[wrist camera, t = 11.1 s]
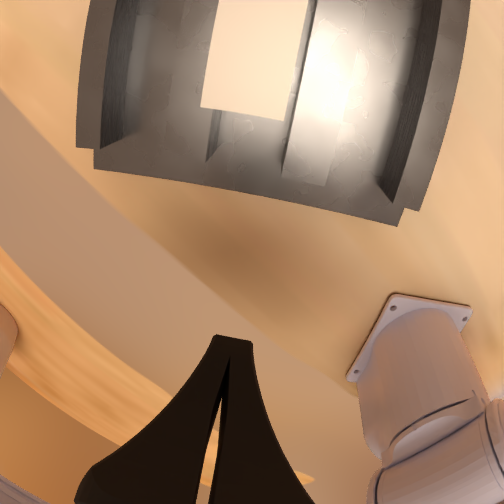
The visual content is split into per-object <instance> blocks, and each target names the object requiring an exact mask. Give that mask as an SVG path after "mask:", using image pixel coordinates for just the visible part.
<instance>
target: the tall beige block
mask: <svg viewBox="0 0 504 504" xmlns="http://www.w3.org/2000/svg"><path fill="white" fill-rule="evenodd" d="M307 5H308V0H219V3H218V8H217V13H216V18H215V23H214V28H213V33H212V39H211V44H210V49H209V55H208V61H207V67H206V73H205V79H204V85H203V91H202V98H201V105H200V107H202V108H210V109H217V110H224V111H231V112H237V113H243V114H249V115H255V116H260V117H265V118H271V119H276V120H281V121H284V117H285V112H286V107H287V102H288V97H289V93H290V88H291V83H292V78H293V73H294V68H295V64H296V59H297V54H298V49H299V44H300V39H301V34H302V29H303V24H304V20H305V15H306V10H307Z"/></svg>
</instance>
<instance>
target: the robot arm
mask: <svg viewBox="0 0 504 504" xmlns="http://www.w3.org/2000/svg"><path fill="white" fill-rule="evenodd" d="M393 305H395V306H394V307H392V308H390V307H391V306H393ZM472 313H473V310H472V308H471V307H469V306H464V305H458V304H452V303H446V302H440V301H435V300H429V299H423V298H417V297H412V296H406V295H400V294H394V295H392V296H391V297H390V298H389V299H388V301H387V303H386V305H385V307H384V309H383V311H382V313H381V315H380V317H379V319H378V321H377V323H376V324H375V326H374V328H373V330H372V332H371V334H370V335H369V337H368V339H367V341H366V343H365V344H364V346H363V348H362V350H361V351H360V353H359V355H358V357H357V358H356V360H355V362H354V363H353V365H352V367H351V368H350V370H349V372H348V373H347V375H346V380H347V381H349V382H356V383H357V390H358V397H359V404H360V411H361V418H362V426H363V434H364V438H365V441H366V444H367V446H368V447H369V449H370V450H371V452H372V453H373V454H374V455H375V456H376V457H377V458H379V459H380V460H382V467H381V468H380V469H378V470H377V471H376V472H375V473H374V474H373V476H372V478H371V480H370V483H369V485H368V491H367V504H504V400H501V399H494V400H493V401H492V402H490V399H489V397H488V394H487V392H486V389H485V387H484V385H483V382H482V380H481V377H480V375H479V373H478V371H477V368H476V366H475V364H474V362H473V360H472V357H471V355H470V353H469V351H468V349H467V347H466V345H465V343H464V341H463V339H462V337H461V335H460V332H461V331H462V329H463V328H464V326H465V325H466V323H467V322H468V320H469V318H470V317H471V315H472ZM221 398H222V403H221V415H220V427H219V440H218V450H217V458H216V463H215V469H214V474H213V480H212V485H211V491H210V496H209V502H208V504H315V503H314V502H313V500H312V499H311V498H310V496H309V495H308V493H307V492H306V490H305V489H304V488H303V486H302V484H301V483H300V481H299V480H298V478H297V476H296V475H295V473H294V471H293V469H292V468H291V466H290V464H289V462H288V460H287V459H286V457H285V455H284V453H283V451H282V449H281V447H280V445H279V442H278V440H277V438H276V436H275V433H274V431H273V429H272V426H271V423H270V421H269V418H268V415H267V412H266V409H265V406H264V403H263V399H262V396H261V392H260V388H259V384H258V380H257V375H256V370H255V364H254V356H253V343H252V342H251V341H248V340H243V339H237V338H232V337H227V336H222V335H217V334H216V335H214V336H213V338H212V341H211V343H210V345H209V347H208V349H207V351H206V353H205V354H204V356H203V358H202V360H201V361H200V363H199V364H198V366H197V367H196V369H195V370H194V372H193V373H192V375H191V376H190V378H189V379H188V380H187V382H186V383H185V384H184V386H183V387H182V388H181V389H180V391H179V392H178V393H177V394H176V395H175V397H174V398H173V399H172V400H171V401H170V402H169V404H168V405H167V406H166V407H165V408H164V409H163V410H162V411H161V412H160V413H159V414H158V415H157V416H156V417H155V418H154V419H153V420H152V421H151V422H150V423H149V424H148V425H147V426H146V427H145V428H143V429H142V430H141V431H140V432H139V433H138V434H137V435H135V436H134V437H133V438H132V439H130V440H129V441H128V442H127V443H125V444H124V445H123V446H121V447H120V448H119V449H117V450H116V451H115V452H113V453H112V454H110V455H109V456H107V457H106V458H104V459H103V460H101V461H100V462H98V463H96V464H95V465H93V466H92V467H91V468H90V469H89V471H88V472H87V473H86V475H85V476H84V478H83V479H82V481H81V483H80V485H79V487H78V490H77V493H76V496H75V499H74V502H75V504H196V499H197V494H198V489H199V483H200V478H201V473H202V468H203V463H204V458H205V453H206V449H207V445H208V442H209V438H210V435H211V432H212V428H213V425H214V422H215V418H216V415H217V412H218V408H219V405H220V401H221ZM0 504H50V503H48V502H46V501H44V500H42V499H40V498H38V497H36V496H35V495H33V494H31V493H29V492H28V491H26V490H24V489H22V488H21V487H19V486H17V485H16V484H14V483H12V482H11V481H9V480H8V479H6V478H4V477H3V476H1V475H0Z"/></svg>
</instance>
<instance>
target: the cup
mask: <svg viewBox="0 0 504 504" xmlns="http://www.w3.org/2000/svg"><path fill="white" fill-rule="evenodd" d="M17 334H18V327H17V324H16V322H15V320H14V319H13V317H12V316H11V315H10V313H9V312H8V311H7V310H6V309H5V308H4V307H3V306H2V305H0V377H1V375H2V373H3V371H4V368H5V366H6V364H7V362H8V359H9V357H10V355H11V353H12V350H13V346H14V343H15V340H16V337H17Z"/></svg>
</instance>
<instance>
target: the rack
mask: <svg viewBox="0 0 504 504" xmlns="http://www.w3.org/2000/svg"><path fill="white" fill-rule="evenodd" d="M470 1H471V0H308V5H307V10H306V15H305V20H304V24H303V29H302V34H301V39H300V44H299V49H298V54H297V59H296V64H295V68H294V73H293V78H292V83H291V88H290V93H289V97H288V102H287V107H286V112H285V117H284V121H281V120H276V119H271V118H265V117H260V116H255V115H249V114H243V113H237V112H231V111H224V110H217V109H210V108H202V107H200V105H201V98H202V91H203V85H204V79H205V73H206V67H207V61H208V55H209V49H210V44H211V39H212V33H213V28H214V23H215V18H216V13H217V8H218V3H219V0H91V1H90V6H89V11H88V16H87V22H86V28H85V34H84V40H83V48H82V55H81V64H80V73H79V85H78V98H77V117H76V147H78V148H90V149H94V169H98V170H106V171H114V172H121V173H128V174H135V175H142V176H149V177H156V178H162V179H169V180H175V181H181V182H187V183H193V184H199V185H205V186H211V187H216V188H222V189H227V190H233V191H238V192H243V193H249V194H254V195H259V196H264V197H269V198H274V199H279V200H284V201H289V202H293V203H298V204H303V205H307V206H312V207H316V208H321V209H325V210H330V211H334V212H339V213H343V214H347V215H351V216H356V217H360V218H364V219H368V220H372V221H376V222H380V223H384V224H388V225H392V226H396V227H397V226H398V223H399V221H400V218H401V215H402V213H403V210H404V207H405V208H408V209H412V210H415V211H418V212H419V210H420V207H421V205H422V202H423V199H424V196H425V194H426V191H427V188H428V185H429V182H430V179H431V176H432V173H433V170H434V167H435V164H436V161H437V158H438V155H439V152H440V148H441V145H442V142H443V138H444V135H445V131H446V128H447V124H448V120H449V116H450V113H451V109H452V105H453V101H454V96H455V92H456V88H457V83H458V78H459V74H460V69H461V64H462V58H463V53H464V47H465V41H466V34H467V27H468V19H469V11H470Z"/></svg>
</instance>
